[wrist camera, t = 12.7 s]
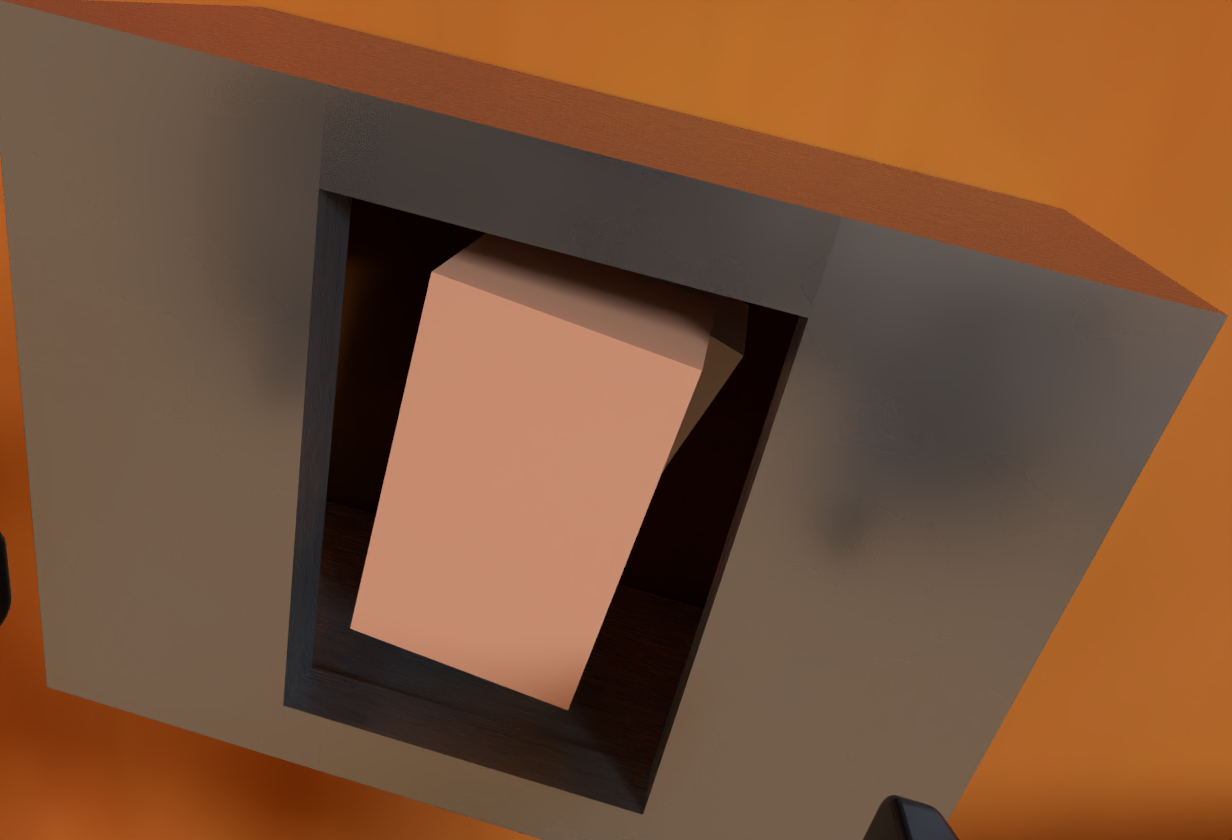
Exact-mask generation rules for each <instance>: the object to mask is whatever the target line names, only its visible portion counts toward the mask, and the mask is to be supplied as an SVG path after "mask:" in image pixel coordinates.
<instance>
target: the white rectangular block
mask: <svg viewBox="0 0 1232 840" xmlns="http://www.w3.org/2000/svg"><path fill="white" fill-rule="evenodd" d="M639 274H640V273H639ZM641 275H644V274H641ZM644 276H647V277H649V278H652V279H655V280H658V281H660V282H663V283H666V284H669V285H671V286H674V287H677V288H680V289H682V290H685V291H688V292H691V293H693V294H696V295H699V296H702V297H704V298H707V299H710V300H713V301H715V302H718V303H717V308H716V312H715V316H714V321H713V325H712V330H711V334H710V338H709V343H708V347H707V351H706V356H705V360H704V365H703V369H702V372H701V375H700V377H699V380H698V382H697V385H696V387H695V390H694V393H693V395H692V398H691V400H690V403H689V405H688V408H687V410H686V413H685V415H684V418H683V420H682V423H681V425H680V428H679V430H678V433H677V436H676V438H675V441H674V443H673V446H672V448H671V451H670V453H669V456H668V458H667V461H666V463H665V466H664V468H663V470H664V469H665V468H666V466H667V465H668V463H669V462H670V460H671V459H672V458H673V456H674V455H675V453H676V452H677V450H678V449H679V448H680V446H681V445H682V443H683V442H684V440H685V439H686V438H687V436H688V435H689V433H690V432H691V430H692V429H693V428H694V426H695V425H696V423H697V422H698V420H699V419H700V418H701V416H702V415H703V413H704V412H705V410H706V409H707V408H708V406H709V405H710V403H711V402H712V400H713V399H714V398H715V396H716V395H717V393H718V392H719V390H720V389H721V388H722V386H723V385H724V383H725V382H726V380H727V379H728V378H729V376H730V375H731V373H732V372H733V370H734V369H735V368H736V366H737V365H738V363H739V362H740V361H741V359H742V358H743V356H744V349H745V340H746V331H747V321H748V312H749V305H747V304H746V303H744V302H742V301H741V300H738V299H734V298H731V297H727V296H723V295H719V294H716V293H712V292H708V291H704V290H700V289H697V288H693V287H689V286H685V285H682V284H678V283H674V282H670V281H666V280H663V279H659V278H655V277H651V276H648V275H644ZM662 472H663V471H662Z"/></svg>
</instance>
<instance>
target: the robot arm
mask: <svg viewBox="0 0 1232 840" xmlns="http://www.w3.org/2000/svg"><path fill="white" fill-rule="evenodd" d="M10 604H11V588H10V578H9V569H8V559H7V550H6V542H5V538H4V537H3V535H2V534H1V532H0V626H1V624H2V623H3V621H4V620H5V618H6V616H7V614H8V611H9V609H10ZM863 840H959V839H958V837H957V836H956V834H955V833H954V831H953V830H952V828H951V827H950V826H949V824H948V823H947V821H946V820H945V818H944V817H943V816H942V814H941V813H940V812H939V811H938V810H937V809H936V808H934V807H933V806H931V805H928V804H925V803H921V802H918V801H915V800H911V799H908V798H905V797H901V796H898V795H890V796H887V797H886V798H885V799H884V800H883V801H882V803H881V804H880V806H879V808H878V810H877V812H876V814H875V816H874V818H873V820H872V822H871V824H870V826H869V828H868V830H867V832H866V834H865V836H864V838H863Z"/></svg>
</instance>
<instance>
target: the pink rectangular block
mask: <svg viewBox="0 0 1232 840" xmlns="http://www.w3.org/2000/svg"><path fill="white" fill-rule="evenodd" d="M717 303H718V302H715V301H713V300H710V299H707V298H704V297H702V296H699V295H696V294H693V293H691V292H688V291H685V290H682V289H680V288H677V287H674V286H671V285H669V284H666V283H663V282H660V281H658V280H655V279H652V278H649V277H647V276H644V275H641V274H639V273H636V272H632V271H629V270H625V269H621V268H617V267H614V266H610V265H606V264H602V263H598V262H595V261H591V260H587V259H583V258H580V257H576V256H572V255H568V254H564V253H561V252H557V251H553V250H549V249H546V248H542V247H538V246H534V245H530V244H527V243H523V242H519V241H515V240H512V239H508V238H504V237H500V236H496V235H493V234H489V233H486V234H484V235H483V236H481V237H480V238H479V239H477V240H476V241H474V242H473V243H472V244H470V245H469V246H467V247H466V248H465V249H463V250H462V251H460V252H459V253H457V254H456V255H455V256H453V257H452V258H450V259H449V260H448V261H446V262H445V263H443V264H442V265H440V266H439V267H438V268H436V269H435V270H433V271H432V272H431V276H430V281H429V285H428V289H427V294H426V298H425V303H424V307H423V311H422V316H421V320H420V325H419V329H418V333H417V338H416V342H415V346H414V351H413V355H412V360H411V364H410V368H409V373H408V377H407V381H406V386H405V390H404V395H403V399H402V403H401V408H400V412H399V417H398V421H397V425H396V430H395V434H394V438H393V443H392V447H391V452H390V456H389V460H388V465H387V469H386V473H385V478H384V482H383V487H382V491H381V495H380V500H379V504H378V509H377V513H376V517H375V522H374V526H373V530H372V535H371V539H370V544H369V548H368V552H367V557H366V561H365V565H364V570H363V574H362V579H361V583H360V587H359V592H358V596H357V601H356V605H355V609H354V614H353V618H352V622H351V627H350V629H353V630H355V631H358V632H361V633H363V634H366V635H369V636H371V637H374V638H377V639H379V640H382V641H385V642H387V643H390V644H393V645H395V646H398V647H401V648H403V649H406V650H409V651H411V652H414V653H417V654H419V655H422V656H425V657H427V658H430V659H432V660H435V661H438V662H440V663H443V664H446V665H448V666H451V667H454V668H456V669H459V670H462V671H464V672H467V673H470V674H472V675H475V676H478V677H480V678H483V679H486V680H488V681H491V682H494V683H496V684H499V685H502V686H504V687H507V688H510V689H512V690H515V691H518V692H520V693H523V694H526V695H528V696H531V697H534V698H536V699H539V700H542V701H544V702H547V703H550V704H552V705H555V706H558V707H560V708H563V709H566V710H568V709H569V706H570V704H571V701H572V699H573V696H574V694H575V691H576V689H577V686H578V684H579V681H580V679H581V676H582V673H583V671H584V668H585V666H586V663H587V661H588V658H589V656H590V653H591V651H592V648H593V646H594V643H595V641H596V638H597V636H598V633H599V630H600V628H601V625H602V623H603V620H604V618H605V615H606V613H607V610H608V608H609V605H610V603H611V600H612V598H613V595H614V592H615V590H616V587H617V585H618V582H619V580H620V577H621V575H622V572H623V570H624V567H625V565H626V562H627V560H628V557H629V555H630V552H631V549H632V547H633V544H634V542H635V539H636V537H637V534H638V532H639V529H640V527H641V524H642V522H643V519H644V517H645V514H646V511H647V509H648V506H649V504H650V501H651V499H652V496H653V494H654V491H655V489H656V486H657V484H658V481H659V479H660V476H661V474H662V471H663V468H664V466H665V463H666V461H667V458H668V456H669V453H670V451H671V448H672V446H673V443H674V441H675V438H676V436H677V433H678V430H679V428H680V425H681V423H682V420H683V418H684V415H685V413H686V410H687V408H688V405H689V403H690V400H691V398H692V395H693V393H694V390H695V387H696V385H697V382H698V380H699V377H700V375H701V372H702V369H703V365H704V360H705V356H706V351H707V347H708V343H709V338H710V334H711V330H712V325H713V321H714V316H715V312H716V308H717Z"/></svg>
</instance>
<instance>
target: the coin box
mask: <svg viewBox="0 0 1232 840" xmlns="http://www.w3.org/2000/svg"><path fill="white" fill-rule="evenodd" d="M0 156H1V167H2V179H3V190H4V202H5V213H6V224H7V236H8V247H9V259H10V270H11V282H12V293H13V304H14V316H15V327H16V339H17V350H18V362H19V373H20V385H21V396H22V407H23V419H24V430H25V442H26V453H27V465H28V476H29V487H30V499H31V510H32V522H33V533H34V545H35V556H36V567H37V579H38V590H39V602H40V613H41V625H42V636H43V648H44V659H45V670H46V682H47V687H48V688H52V689H55V690H58V691H61V692H65V693H68V694H71V695H74V696H78V697H81V698H84V699H87V700H91V701H94V702H97V703H100V704H104V705H107V706H110V707H113V708H117V709H120V710H123V711H126V712H130V713H133V714H136V715H139V716H143V717H146V718H149V719H152V720H156V721H159V722H162V723H165V724H169V725H172V726H175V727H178V728H182V729H185V730H188V731H191V732H195V733H198V734H201V735H204V736H208V737H211V738H214V739H217V740H221V741H224V742H227V743H230V744H234V745H237V746H240V747H243V748H247V749H250V750H253V751H256V752H260V753H263V754H266V755H269V756H273V757H276V758H279V759H282V760H286V761H289V762H292V763H295V764H299V765H302V766H305V767H308V768H312V769H315V770H318V771H321V772H325V773H328V774H331V775H334V776H338V777H341V778H344V779H347V780H351V781H354V782H357V783H360V784H364V785H367V786H370V787H373V788H377V789H380V790H383V791H386V792H390V793H393V794H396V795H399V796H403V797H406V798H409V799H412V800H416V801H419V802H422V803H425V804H429V805H432V806H435V807H438V808H442V809H445V810H448V811H451V812H455V813H458V814H461V815H464V816H468V817H471V818H474V819H477V820H481V821H484V822H487V823H491V824H494V825H497V826H500V827H504V828H507V829H510V830H513V831H517V832H520V833H523V834H526V835H530V836H533V837H536V838H539V839H543V840H863V838H864V836H865V834H866V832H867V830H868V828H869V826H870V824H871V822H872V820H873V818H874V816H875V814H876V812H877V810H878V808H879V806H880V804H881V803H882V801H883V800H884V799H885V798H886V797H887V796H890V795H898V796H901V797H905V798H908V799H911V800H915V801H918V802H921V803H925V804H928V805H931V806H933V807H934V808H936V809H937V810H938V811H939V812H940V813H941V814H942V816H943V817H944V818H945V820H946V821H948V819H949V817H950V815H951V814H952V812H953V810H954V808H955V806H956V805H957V803H958V801H959V799H960V797H961V796H962V794H963V792H964V790H965V788H966V787H967V785H968V783H969V781H970V779H971V778H972V776H973V774H974V772H975V770H976V769H977V767H978V765H979V763H980V761H981V760H982V758H983V756H984V754H985V752H986V751H987V749H988V747H989V745H990V743H991V742H992V740H993V738H994V736H995V734H996V733H997V731H998V729H999V727H1000V725H1001V724H1002V722H1003V720H1004V718H1005V716H1006V715H1007V713H1008V711H1009V709H1010V707H1011V706H1012V704H1013V702H1014V700H1015V698H1016V697H1017V695H1018V693H1019V691H1020V689H1021V688H1022V686H1023V684H1024V682H1025V680H1026V679H1027V677H1028V675H1029V673H1030V671H1031V669H1032V668H1033V666H1034V664H1035V662H1036V660H1037V659H1038V657H1039V655H1040V653H1041V651H1042V650H1043V648H1044V646H1045V644H1046V642H1047V641H1048V639H1049V637H1050V635H1051V633H1052V632H1053V630H1054V628H1055V626H1056V624H1057V623H1058V621H1059V619H1060V617H1061V615H1062V614H1063V612H1064V610H1065V608H1066V606H1067V605H1068V603H1069V601H1070V599H1071V597H1072V596H1073V594H1074V592H1075V590H1076V588H1077V587H1078V585H1079V583H1080V581H1081V579H1082V578H1083V576H1084V574H1085V572H1086V570H1087V569H1088V567H1089V565H1090V563H1091V561H1092V560H1093V558H1094V556H1095V554H1096V552H1097V551H1098V549H1099V547H1100V545H1101V543H1102V542H1103V540H1104V538H1105V536H1106V534H1107V532H1108V531H1109V529H1110V527H1111V525H1112V523H1113V522H1114V520H1115V518H1116V516H1117V514H1118V513H1119V511H1120V509H1121V507H1122V505H1123V504H1124V502H1125V500H1126V498H1127V496H1128V495H1129V493H1130V491H1131V489H1132V487H1133V486H1134V484H1135V482H1136V480H1137V478H1138V477H1139V475H1140V473H1141V471H1142V469H1143V468H1144V466H1145V464H1146V462H1147V460H1148V459H1149V457H1150V455H1151V453H1152V451H1153V450H1154V448H1155V446H1156V444H1157V442H1158V441H1159V439H1160V437H1161V435H1162V433H1163V432H1164V430H1165V428H1166V426H1167V424H1168V423H1169V421H1170V419H1171V417H1172V415H1173V414H1174V412H1175V410H1176V408H1177V406H1178V405H1179V403H1180V401H1181V399H1182V397H1183V395H1184V394H1185V392H1186V390H1187V388H1188V386H1189V385H1190V383H1191V381H1192V379H1193V377H1194V376H1195V374H1196V372H1197V370H1198V368H1199V367H1200V365H1201V363H1202V361H1203V359H1204V358H1205V356H1206V354H1207V352H1208V350H1209V349H1210V347H1211V345H1212V343H1213V341H1214V340H1215V338H1216V336H1217V334H1218V332H1219V331H1220V329H1221V327H1222V325H1223V323H1224V322H1225V320H1226V318H1227V316H1228V315H1226V314H1225V313H1223V312H1221V311H1220V310H1218V309H1217V308H1215V307H1214V306H1212V305H1211V304H1209V303H1208V302H1206V301H1204V300H1203V299H1201V298H1200V297H1198V296H1197V295H1195V294H1194V293H1192V292H1191V291H1189V290H1187V289H1186V288H1184V287H1183V286H1181V285H1180V284H1178V283H1177V282H1175V281H1174V280H1172V279H1170V278H1169V277H1167V276H1166V275H1164V274H1163V273H1161V272H1160V271H1158V270H1157V269H1155V268H1153V267H1152V266H1150V265H1149V264H1147V263H1146V262H1144V261H1143V260H1141V259H1140V258H1138V257H1136V256H1135V255H1133V254H1132V253H1130V252H1129V251H1127V250H1126V249H1124V248H1123V247H1121V246H1120V245H1118V244H1116V243H1115V242H1113V241H1112V240H1110V239H1109V238H1107V237H1106V236H1104V235H1103V234H1101V233H1099V232H1098V231H1096V230H1095V229H1093V228H1092V227H1090V226H1089V225H1087V224H1086V223H1084V222H1082V221H1081V220H1079V219H1078V218H1076V217H1075V216H1073V215H1072V214H1070V213H1069V212H1067V211H1065V210H1063V209H1059V208H1055V207H1051V206H1047V205H1043V204H1039V203H1035V202H1031V201H1027V200H1023V199H1020V198H1016V197H1012V196H1008V195H1004V194H1000V193H996V192H992V191H988V190H984V189H980V188H976V187H972V186H968V185H964V184H960V183H956V182H952V181H948V180H944V179H940V178H936V177H932V176H928V175H924V174H920V173H917V172H913V171H909V170H905V169H901V168H897V167H893V166H889V165H885V164H881V163H877V162H873V161H869V160H865V159H861V158H857V157H853V156H849V155H845V154H841V153H837V152H833V151H829V150H825V149H821V148H817V147H814V146H810V145H806V144H802V143H798V142H794V141H790V140H786V139H782V138H778V137H774V136H770V135H766V134H762V133H758V132H754V131H750V130H746V129H742V128H738V127H734V126H730V125H726V124H722V123H718V122H714V121H711V120H707V119H703V118H699V117H695V116H691V115H687V114H683V113H679V112H675V111H671V110H667V109H663V108H659V107H655V106H651V105H647V104H643V103H639V102H635V101H631V100H627V99H623V98H619V97H615V96H611V95H608V94H604V93H600V92H596V91H592V90H588V89H584V88H580V87H576V86H572V85H568V84H564V83H560V82H556V81H552V80H548V79H544V78H540V77H536V76H532V75H528V74H524V73H520V72H516V71H512V70H508V69H505V68H501V67H497V66H493V65H489V64H485V63H481V62H477V61H473V60H469V59H465V58H461V57H457V56H453V55H449V54H445V53H441V52H437V51H433V50H429V49H425V48H421V47H417V46H413V45H409V44H406V43H402V42H398V41H394V40H390V39H386V38H382V37H378V36H374V35H370V34H366V33H362V32H358V31H354V30H350V29H346V28H342V27H338V26H334V25H330V24H326V23H322V22H318V21H314V20H310V19H306V18H303V17H299V16H295V15H291V14H287V13H283V12H279V11H275V10H271V9H267V8H263V7H251V6H224V5H197V4H169V3H142V2H115V1H88V0H0ZM352 197H353V198H357V199H360V200H364V201H368V202H372V203H376V204H379V205H383V206H387V207H391V208H394V209H398V210H402V211H406V212H410V213H413V214H417V215H421V216H425V217H428V218H432V219H436V220H440V221H444V222H447V223H451V224H455V225H459V226H462V227H466V228H470V229H474V230H478V231H481V232H485V233H489V234H493V235H496V236H500V237H504V238H508V239H512V240H515V241H519V242H523V243H527V244H530V245H534V246H538V247H542V248H546V249H549V250H553V251H557V252H561V253H564V254H568V255H572V256H576V257H580V258H583V259H587V260H591V261H595V262H598V263H602V264H606V265H610V266H614V267H617V268H621V269H625V270H629V271H632V272H636V273H640V274H644V275H648V276H651V277H655V278H659V279H663V280H666V281H670V282H674V283H678V284H682V285H685V286H689V287H693V288H697V289H700V290H704V291H708V292H712V293H716V294H719V295H723V296H727V297H731V298H734V299H738V300H742V301H746V302H750V303H753V304H757V305H761V306H765V307H768V308H772V309H776V310H780V311H784V312H787V313H791V314H795V315H799V319H798V322H797V325H796V328H795V331H794V334H793V337H792V341H791V344H790V347H789V350H788V353H787V356H786V359H785V362H784V365H783V368H782V371H781V374H780V377H779V380H778V383H777V386H776V389H775V392H774V395H773V398H772V401H771V405H770V408H769V411H768V414H767V417H766V420H765V423H764V426H763V429H762V432H761V435H760V438H759V441H758V444H757V447H756V450H755V453H754V456H753V459H752V462H751V465H750V469H749V472H748V475H747V478H746V481H745V484H744V487H743V490H742V493H741V496H740V499H739V502H738V505H737V508H736V511H735V514H734V517H733V520H732V523H731V526H730V529H729V532H728V536H727V539H726V542H725V545H724V548H723V551H722V554H721V557H720V560H719V563H718V566H717V569H716V572H715V575H714V578H713V581H712V584H711V587H710V590H709V593H708V596H707V600H706V603H705V606H704V609H703V608H700V607H696V606H693V605H689V604H686V603H682V602H679V601H675V600H672V599H668V598H665V597H661V596H658V595H655V594H651V593H648V592H644V591H641V590H637V589H634V588H630V587H627V586H623V585H620V584H618V585H617V587H616V590H615V592H614V595H613V598H612V600H611V603H610V605H609V608H608V610H607V613H606V615H605V618H604V620H603V623H602V625H601V628H600V630H599V633H598V636H597V638H596V641H595V643H594V646H593V648H592V651H591V653H590V656H589V658H588V661H587V663H586V666H585V668H584V671H583V673H582V676H581V679H580V681H579V684H578V686H577V689H576V691H575V694H574V696H573V699H572V701H571V704H570V706H569V709H568V710H566V709H563V708H560V707H558V706H555V705H552V704H550V703H547V702H544V701H542V700H539V699H536V698H534V697H531V696H528V695H526V694H523V693H520V692H518V691H515V690H512V689H510V688H507V687H504V686H502V685H499V684H496V683H494V682H491V681H488V680H486V679H483V678H480V677H478V676H475V675H472V674H470V673H467V672H464V671H462V670H459V669H456V668H454V667H451V666H448V665H446V664H443V663H440V662H438V661H435V660H432V659H430V658H427V657H425V656H422V655H419V654H417V653H414V652H411V651H409V650H406V649H403V648H401V647H398V646H395V645H393V644H390V643H387V642H385V641H382V640H379V639H377V638H374V637H371V636H369V635H366V634H363V633H361V632H358V631H355V630H353V629H350V627H351V622H352V618H353V614H354V609H355V605H356V601H357V596H358V592H359V587H360V583H361V579H362V574H363V570H364V565H365V561H366V557H367V552H368V548H369V544H370V539H371V535H372V530H373V526H374V522H375V517H376V514H373V513H369V512H366V511H362V510H359V509H355V508H352V507H348V506H345V505H341V504H338V503H335V502H331V501H328V500H326V495H327V483H328V472H329V460H330V448H331V437H332V425H333V414H334V402H335V390H336V379H337V367H338V355H339V344H340V332H341V320H342V309H343V297H344V285H345V274H346V262H347V250H348V239H349V227H350V216H351V204H352Z"/></svg>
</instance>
